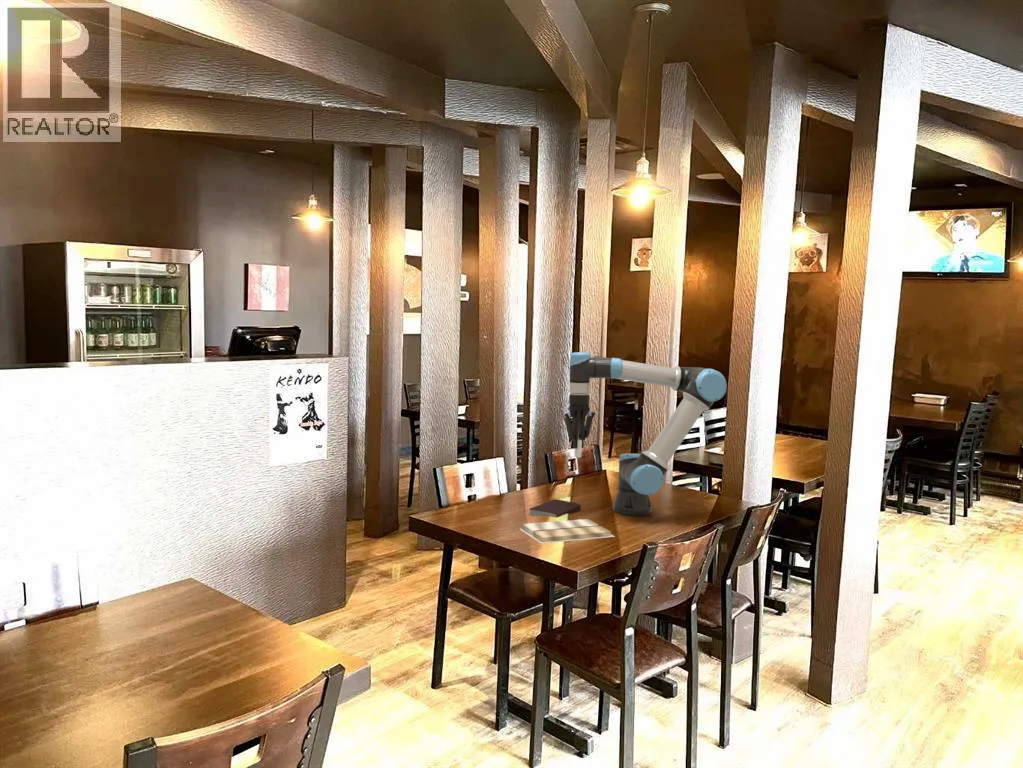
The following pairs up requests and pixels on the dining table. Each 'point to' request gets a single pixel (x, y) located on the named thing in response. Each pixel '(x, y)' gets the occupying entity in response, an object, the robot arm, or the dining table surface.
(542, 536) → the laid plank
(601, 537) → the floor board
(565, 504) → the book
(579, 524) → the loose plank
